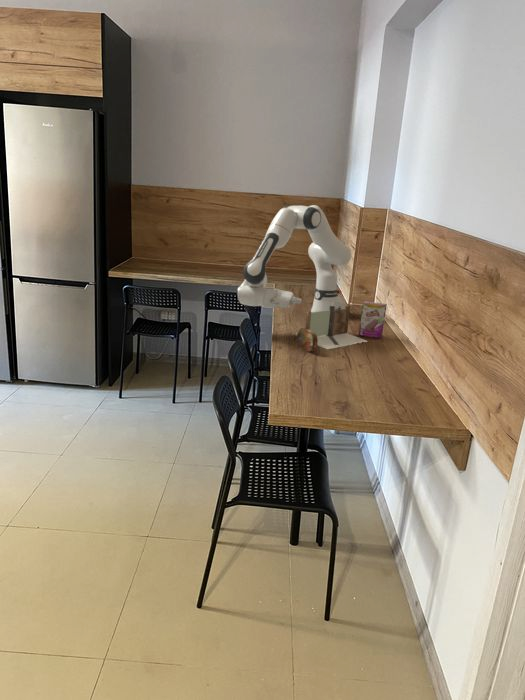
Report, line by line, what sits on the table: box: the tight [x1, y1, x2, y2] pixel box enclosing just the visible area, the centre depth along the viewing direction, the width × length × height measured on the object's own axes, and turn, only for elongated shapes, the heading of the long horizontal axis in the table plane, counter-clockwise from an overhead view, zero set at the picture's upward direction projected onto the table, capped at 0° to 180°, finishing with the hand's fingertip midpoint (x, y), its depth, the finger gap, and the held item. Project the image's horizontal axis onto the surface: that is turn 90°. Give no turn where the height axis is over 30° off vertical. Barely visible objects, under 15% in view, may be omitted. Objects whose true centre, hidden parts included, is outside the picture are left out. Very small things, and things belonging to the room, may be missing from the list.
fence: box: [328, 305, 351, 336], centre depth 254 cm, size 13×2×14 cm, turn 127°
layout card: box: [317, 332, 368, 350], centre depth 248 cm, size 26×20×1 cm
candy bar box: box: [358, 300, 388, 339], centre depth 255 cm, size 11×5×16 cm, turn 74°
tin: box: [297, 327, 318, 353], centre depth 231 cm, size 15×3×8 cm, turn 21°
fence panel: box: [304, 310, 330, 337], centre depth 246 cm, size 14×2×12 cm, turn 127°
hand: (301, 301), depth 244 cm, fingers closed
